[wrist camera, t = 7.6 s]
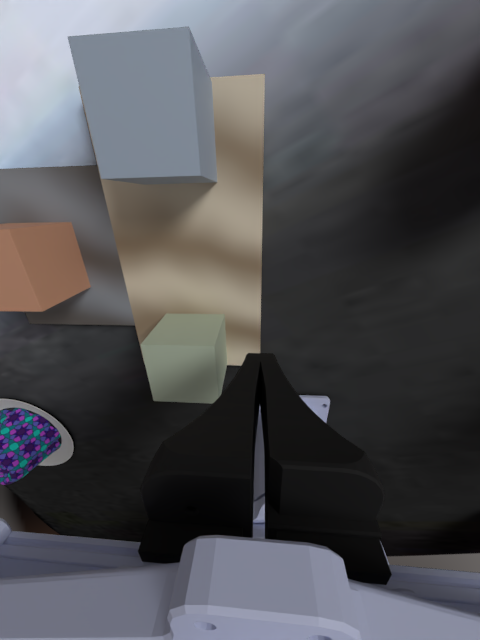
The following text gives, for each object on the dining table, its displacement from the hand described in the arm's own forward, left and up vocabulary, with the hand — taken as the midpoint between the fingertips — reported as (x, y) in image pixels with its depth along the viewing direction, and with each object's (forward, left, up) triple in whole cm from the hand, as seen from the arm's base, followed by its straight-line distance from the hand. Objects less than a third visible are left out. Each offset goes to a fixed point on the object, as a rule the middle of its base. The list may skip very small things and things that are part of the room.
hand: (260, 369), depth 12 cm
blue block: (+11, +6, -8) cm, 15 cm away
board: (+4, +10, -9) cm, 14 cm away
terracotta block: (+4, +17, -8) cm, 19 cm away
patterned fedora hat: (-18, +29, -10) cm, 35 cm away
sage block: (-3, +6, -8) cm, 10 cm away
